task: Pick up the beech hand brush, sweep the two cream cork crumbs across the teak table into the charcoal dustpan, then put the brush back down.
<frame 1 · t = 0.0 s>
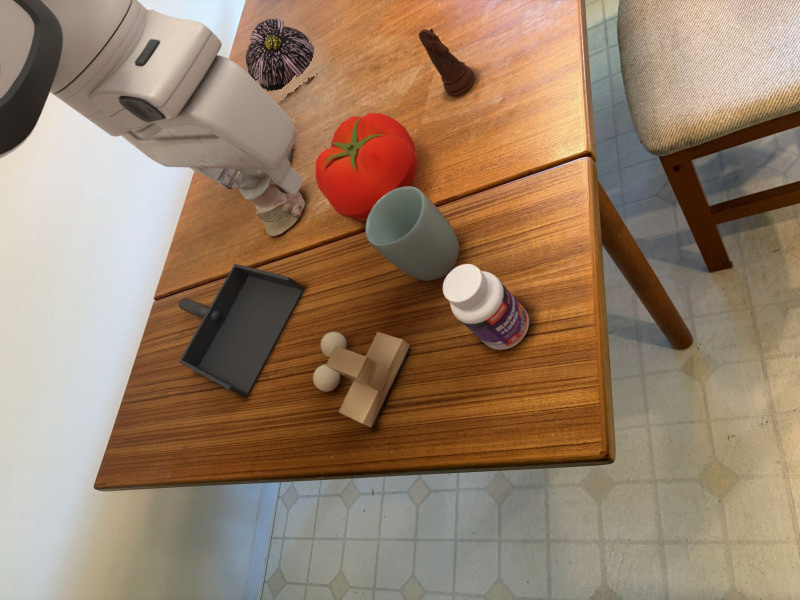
hand: (264, 185, 51), 23 cm above the table, tool pointing down, fingers open, 8 cm apart
chess piece: (461, 85, 81), on the table
pill bottle: (506, 327, 57), on the table
crumb b: (333, 344, 68), point 2 cm above the table
crumb a: (326, 377, 66), point 2 cm above the table
dustpan: (249, 330, 82), on the table
water bottle: (274, 167, 101), on the table
figurine: (290, 214, 91), on the table
brush: (382, 383, 63), on the table
tomato: (388, 188, 79), on the table
cup: (440, 262, 67), on the table
decorative flower: (299, 74, 113), on the table
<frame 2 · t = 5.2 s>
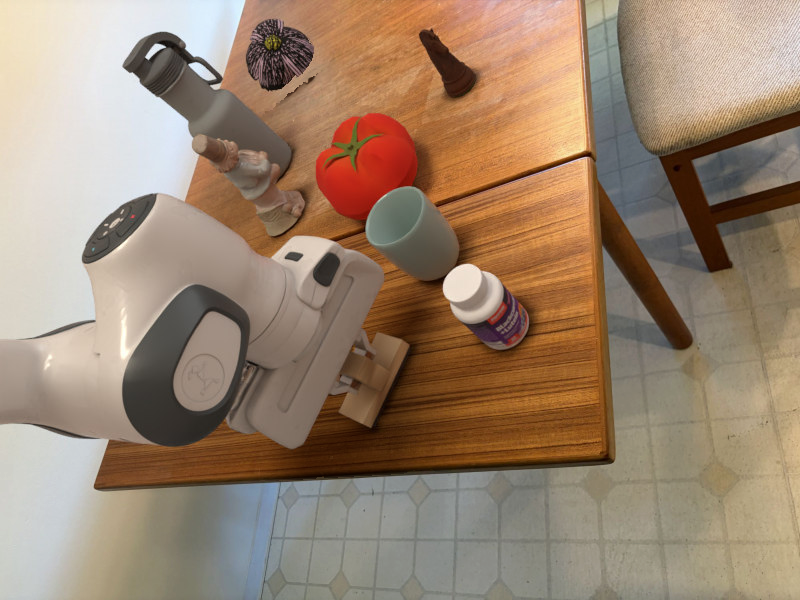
hand: (363, 371, 61), 4 cm above the table, tool pointing down, fingers closed on brush, 2 cm apart
brush: (382, 383, 63), on the table, touching gripper
everything else where it was.
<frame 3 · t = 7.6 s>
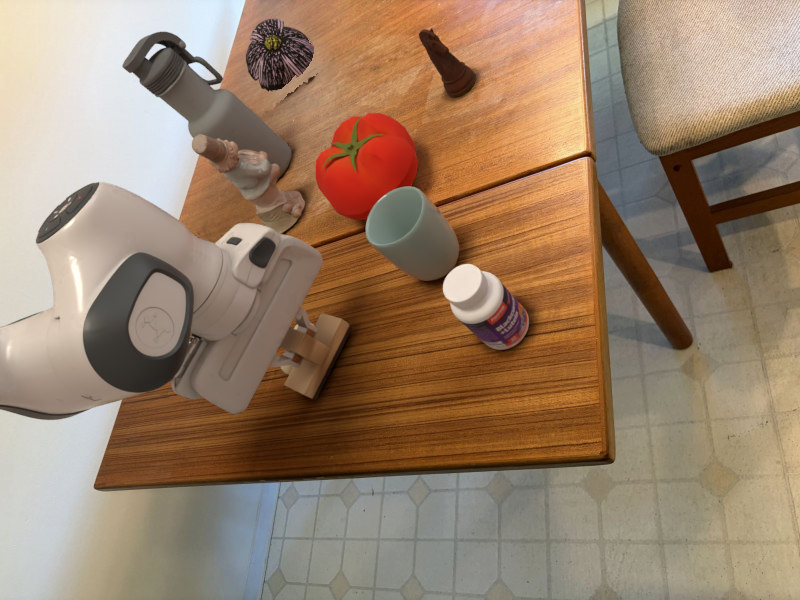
hand: (305, 347, 67), 4 cm above the table, tool pointing down, fingers closed on brush, 2 cm apart
crumb b: (305, 333, 72), point 2 cm above the table, tilted 154°
crumb a: (292, 362, 71), point 2 cm above the table, tilted 112°
brush: (325, 359, 69), point 1 cm above the table, touching gripper
everything else where it was.
when the fingers open (2 cm above the table, at t = 17.1 s): brush stays where it is and tips over, point 2 cm above the table.
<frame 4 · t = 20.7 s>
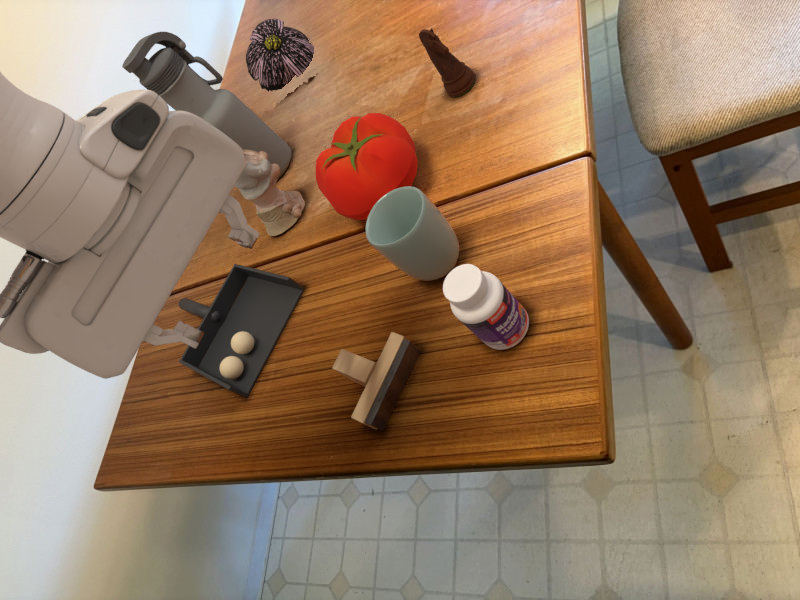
hand: (225, 289, 47), 23 cm above the table, tool pointing down, fingers open, 8 cm apart
crumb b: (242, 342, 78), point 2 cm above the table, tilted 102°, touching dustpan
crumb a: (231, 367, 77), point 2 cm above the table, tilted 64°, touching dustpan
brush: (396, 386, 60), point 2 cm above the table, tilted 74°
everything else where it was.
at the end: crumb a inside the target area in the dustpan (6.6 cm from its centre), point 1.9 cm above the dustpan's base; crumb b inside the target area in the dustpan (3.3 cm from its centre), point 1.9 cm above the dustpan's base; the gripper is holding nothing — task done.
